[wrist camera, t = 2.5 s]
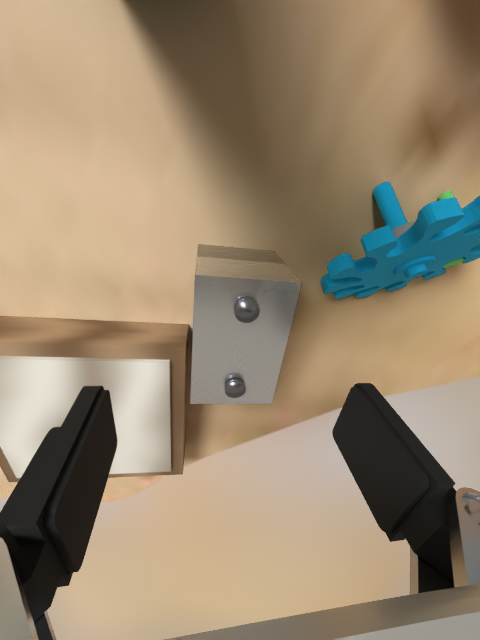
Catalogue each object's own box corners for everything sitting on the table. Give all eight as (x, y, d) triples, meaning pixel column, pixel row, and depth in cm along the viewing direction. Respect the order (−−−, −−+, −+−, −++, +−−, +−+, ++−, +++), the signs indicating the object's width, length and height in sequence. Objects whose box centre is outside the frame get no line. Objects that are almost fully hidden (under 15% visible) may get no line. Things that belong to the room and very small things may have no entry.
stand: (188, 324, 19) (185, 350, 16) (185, 444, 26) (182, 477, 23) (-27, 314, 17) (-74, 342, 14) (30, 448, 24) (6, 485, 21)
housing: (273, 250, 17) (304, 285, 12) (255, 347, 21) (273, 408, 16) (198, 243, 17) (194, 277, 11) (194, 345, 20) (189, 409, 15)
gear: (300, 314, 18) (416, 224, 9) (281, 241, 19) (360, 94, 10) (428, 295, 20) (632, 206, 11) (402, 230, 22) (561, 103, 12)
